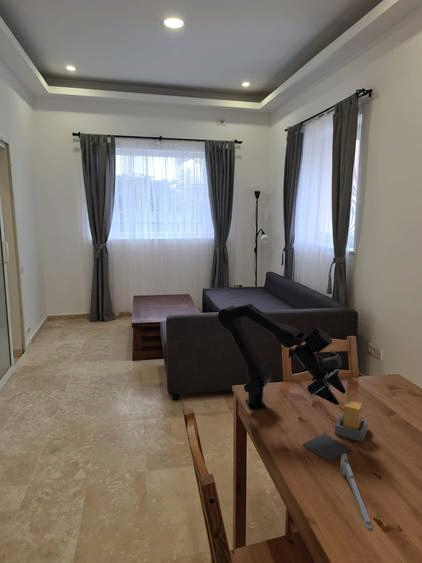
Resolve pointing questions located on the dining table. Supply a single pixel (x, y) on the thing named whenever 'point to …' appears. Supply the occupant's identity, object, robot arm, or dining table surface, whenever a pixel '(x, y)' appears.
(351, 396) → the dining table surface
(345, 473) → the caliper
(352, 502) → the dining table surface
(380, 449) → the dining table surface
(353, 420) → the block
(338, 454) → the mat
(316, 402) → the dining table surface
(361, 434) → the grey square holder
